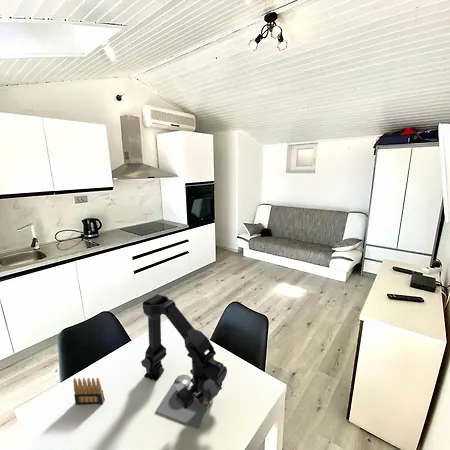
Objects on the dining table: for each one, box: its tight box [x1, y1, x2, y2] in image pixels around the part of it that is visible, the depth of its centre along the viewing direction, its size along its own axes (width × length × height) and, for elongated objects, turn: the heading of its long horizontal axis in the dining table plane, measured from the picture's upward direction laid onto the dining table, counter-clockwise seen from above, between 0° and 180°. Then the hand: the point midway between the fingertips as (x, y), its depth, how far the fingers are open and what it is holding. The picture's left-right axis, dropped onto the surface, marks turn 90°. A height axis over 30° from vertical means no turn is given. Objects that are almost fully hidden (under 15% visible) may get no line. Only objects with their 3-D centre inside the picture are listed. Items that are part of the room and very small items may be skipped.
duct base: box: [155, 382, 209, 430], centre depth 97 cm, size 18×17×3 cm
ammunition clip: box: [73, 377, 105, 406], centre depth 96 cm, size 11×2×12 cm, turn 90°
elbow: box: [173, 374, 214, 405], centre depth 99 cm, size 16×7×4 cm, turn 69°
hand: (201, 402), depth 94 cm, fingers closed
